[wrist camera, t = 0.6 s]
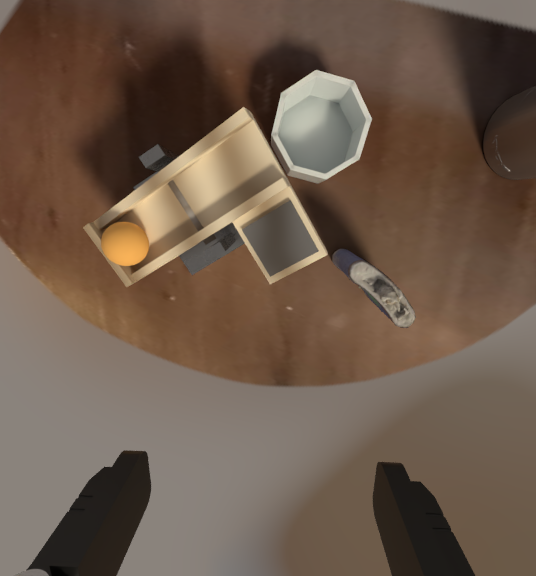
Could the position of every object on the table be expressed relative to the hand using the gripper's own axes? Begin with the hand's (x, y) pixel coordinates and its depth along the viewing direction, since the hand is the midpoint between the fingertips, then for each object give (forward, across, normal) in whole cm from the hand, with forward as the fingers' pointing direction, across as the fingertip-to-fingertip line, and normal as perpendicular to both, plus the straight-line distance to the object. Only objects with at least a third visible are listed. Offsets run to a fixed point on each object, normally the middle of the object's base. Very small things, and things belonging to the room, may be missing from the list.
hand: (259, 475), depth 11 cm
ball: (+19, +14, -5) cm, 24 cm away
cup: (+30, -4, -16) cm, 34 cm away
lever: (+21, +6, -6) cm, 23 cm away
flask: (+30, -11, 0) cm, 32 cm away
